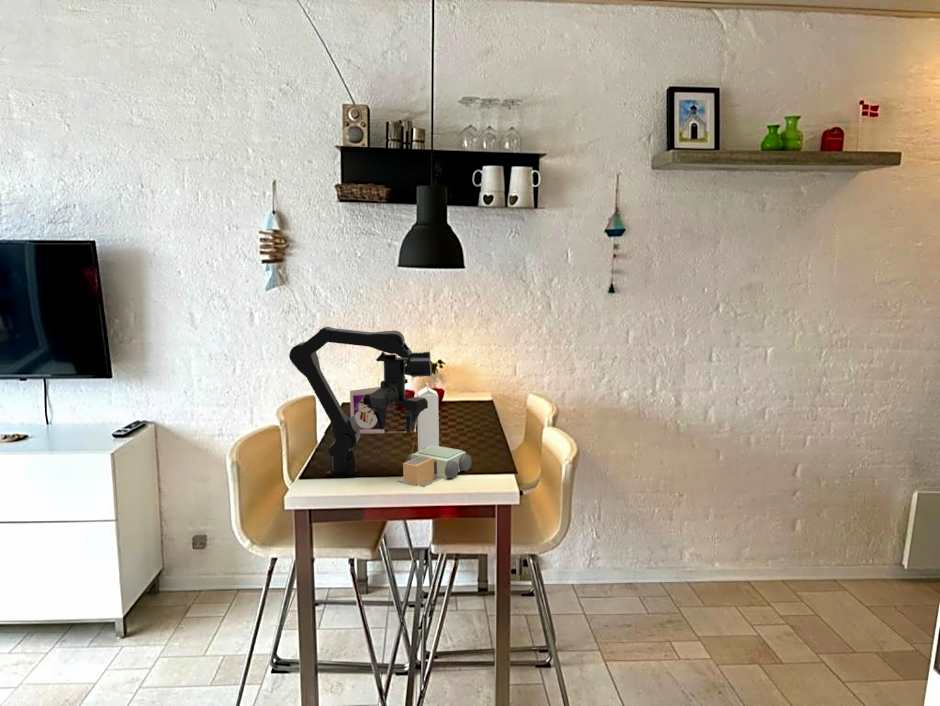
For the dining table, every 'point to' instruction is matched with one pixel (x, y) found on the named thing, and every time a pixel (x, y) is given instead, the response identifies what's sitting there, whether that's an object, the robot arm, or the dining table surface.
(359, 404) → the greeting card
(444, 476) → the mower deck
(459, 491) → the dining table surface
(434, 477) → the mounting plate
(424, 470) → the block
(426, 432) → the milk
